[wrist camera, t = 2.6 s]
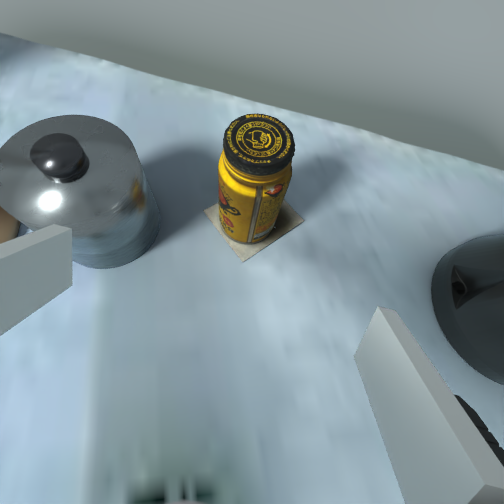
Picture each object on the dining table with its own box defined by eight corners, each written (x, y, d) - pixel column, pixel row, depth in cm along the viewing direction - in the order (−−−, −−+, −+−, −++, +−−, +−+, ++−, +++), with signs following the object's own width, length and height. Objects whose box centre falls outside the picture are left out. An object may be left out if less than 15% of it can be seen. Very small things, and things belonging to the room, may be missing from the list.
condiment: (202, 211, 31) (192, 124, 20) (263, 176, 34) (284, 82, 22) (242, 263, 29) (255, 198, 18) (303, 222, 32) (347, 144, 21)
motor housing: (176, 239, 29) (155, 176, 20) (78, 287, 27) (-4, 240, 17) (136, 169, 32) (100, 83, 22) (43, 205, 29) (-45, 125, 20)
